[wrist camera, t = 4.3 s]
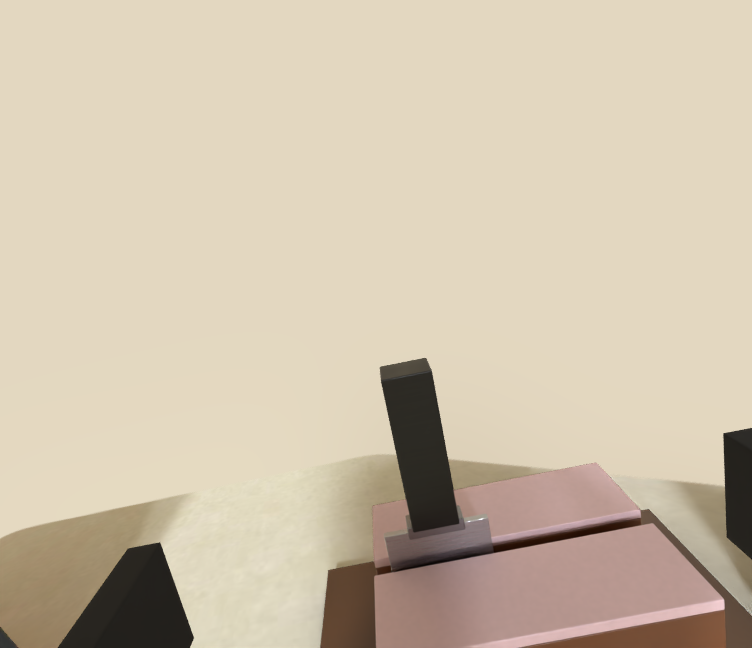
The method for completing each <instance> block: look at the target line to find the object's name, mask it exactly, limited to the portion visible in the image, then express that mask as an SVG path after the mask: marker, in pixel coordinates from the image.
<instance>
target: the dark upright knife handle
mask: <svg viewBox="0 0 752 648" xmlns="http://www.w3.org/2000/svg"><path fill="white" fill-rule="evenodd" d="M380 375H381V383H382V387H383V393H384V397H385V402H386V406H387V412H388V416H389V421H390V426H391V430H392V435H393V440H394V445H395V450H396V454H397V459H398V464H399V469H400V473H401V478H402V483H403V487H404V492H405V497H406V502H407V506H408V511H409V515H406V524H407V529H403V530H398V531H393V532H388V533H384V539H385V543H386V548H387V552H388V556H389V561H390V565H391V570H392V572H397V571H403V570H408V569H413V568H419V567H424V566H429V565H434V564H440V563H445V562H450V561H456V560H461V559H466V558H471V557H477V556H482V555H487V554H492V553H494V550H493V544H492V538H491V532H490V526H489V520H488V516H487V514H481V515H476V516H471V517H466V518H463V515H462V512H461V509H460V506H459V505H457V506H456V500H455V495H454V489H453V484H452V478H451V473H450V467H449V462H448V457H447V451H446V446H445V440H444V435H443V429H442V424H441V418H440V413H439V408H438V403H437V397H436V391H435V386H434V380H433V375H432V371H431V368H430V366H429V363H428V361H427V359H426V358H422V359H417V360H412V361H407V362H402V363H398V364H392V365H387V366H382V367H380Z"/></svg>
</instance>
